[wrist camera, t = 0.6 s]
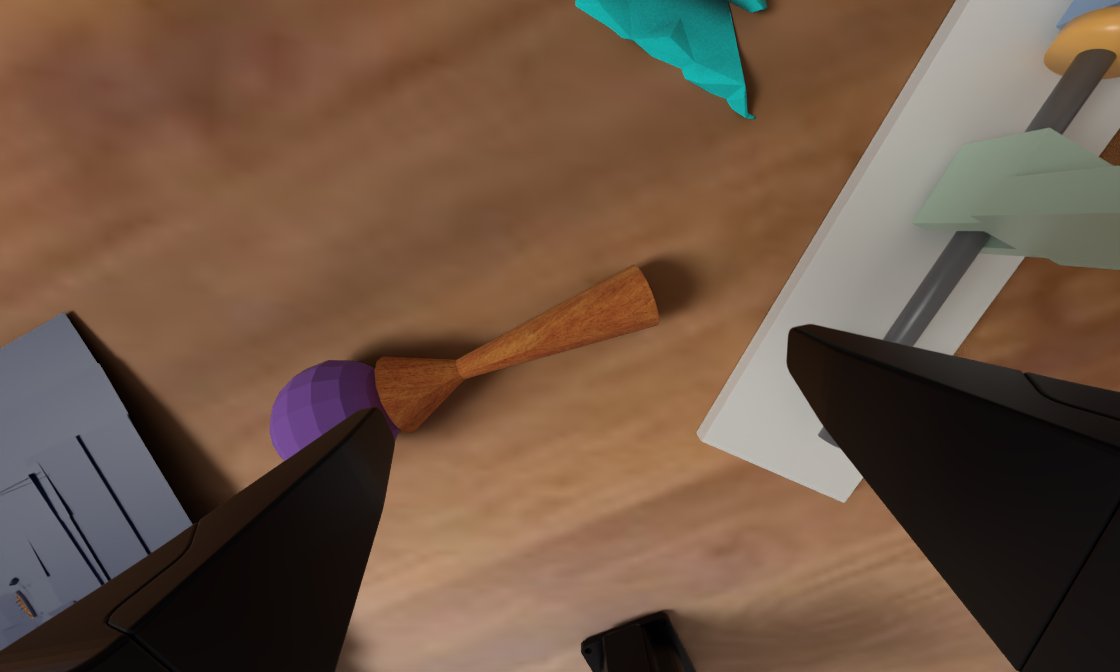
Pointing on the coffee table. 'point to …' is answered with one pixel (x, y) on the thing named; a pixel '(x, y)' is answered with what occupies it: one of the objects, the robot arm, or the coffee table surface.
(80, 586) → the papers
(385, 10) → the coffee table surface
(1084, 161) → the sage green stepped block
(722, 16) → the cloth
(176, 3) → the coffee table surface
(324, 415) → the kendama
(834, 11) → the coffee table surface
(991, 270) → the white board with rod
